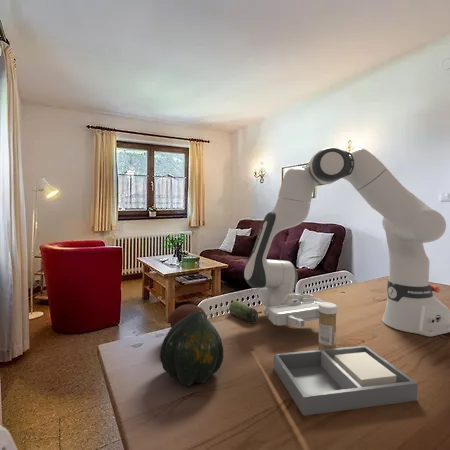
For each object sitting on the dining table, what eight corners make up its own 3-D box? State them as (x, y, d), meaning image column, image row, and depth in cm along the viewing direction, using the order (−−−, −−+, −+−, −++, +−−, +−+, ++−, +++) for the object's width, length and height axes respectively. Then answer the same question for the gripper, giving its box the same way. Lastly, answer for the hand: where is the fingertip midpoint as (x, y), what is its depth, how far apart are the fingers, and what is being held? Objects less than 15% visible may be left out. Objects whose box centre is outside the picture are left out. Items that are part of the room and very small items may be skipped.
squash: (149, 375, 59) (198, 314, 62) (147, 344, 74) (186, 296, 76) (202, 411, 62) (246, 352, 65) (190, 375, 77) (226, 328, 79)
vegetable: (226, 314, 108) (226, 300, 108) (237, 311, 111) (237, 298, 111) (250, 326, 97) (250, 312, 96) (262, 323, 100) (262, 308, 99)
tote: (364, 362, 74) (365, 345, 74) (416, 405, 58) (417, 383, 58) (273, 372, 70) (273, 354, 70) (303, 420, 54) (303, 397, 54)
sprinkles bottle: (339, 354, 78) (340, 305, 77) (328, 359, 76) (329, 308, 75) (325, 348, 82) (326, 300, 81) (314, 352, 79) (315, 303, 79)
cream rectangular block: (364, 366, 71) (365, 352, 71) (395, 392, 61) (396, 375, 61) (334, 369, 69) (334, 355, 69) (360, 396, 60) (361, 379, 59)
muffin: (189, 328, 95) (189, 297, 95) (215, 338, 88) (215, 305, 88) (159, 341, 86) (159, 307, 85) (186, 353, 79) (185, 316, 78)
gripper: (260, 300, 92) (284, 315, 79) (315, 293, 99) (345, 306, 86) (260, 320, 92) (283, 338, 79) (315, 311, 99) (344, 327, 86)
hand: (316, 321), depth 83 cm, fingers open, 8 cm apart
